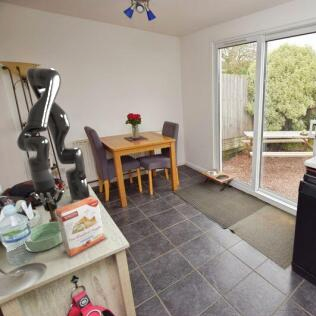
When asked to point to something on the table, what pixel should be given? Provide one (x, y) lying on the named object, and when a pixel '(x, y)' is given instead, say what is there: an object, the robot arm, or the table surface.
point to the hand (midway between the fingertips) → (51, 210)
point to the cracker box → (80, 225)
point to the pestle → (51, 212)
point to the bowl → (44, 237)
